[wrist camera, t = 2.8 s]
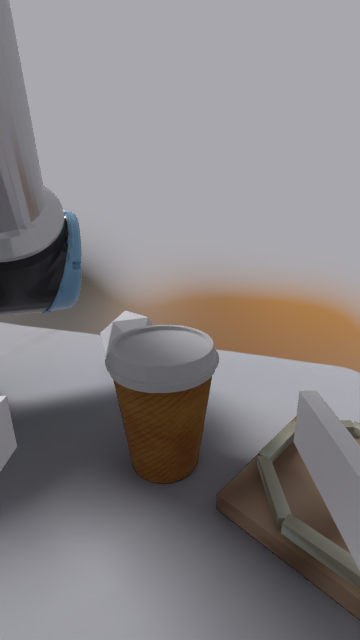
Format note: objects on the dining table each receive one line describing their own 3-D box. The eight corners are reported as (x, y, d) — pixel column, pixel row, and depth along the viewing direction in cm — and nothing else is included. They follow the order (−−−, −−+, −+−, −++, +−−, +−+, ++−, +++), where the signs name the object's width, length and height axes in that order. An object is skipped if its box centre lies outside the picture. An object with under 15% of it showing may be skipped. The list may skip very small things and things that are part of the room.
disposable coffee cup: (212, 426, 35) (215, 323, 31) (218, 501, 26) (224, 370, 22) (125, 424, 35) (118, 322, 31) (103, 498, 26) (88, 368, 22)
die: (172, 366, 50) (160, 308, 52) (148, 362, 42) (135, 295, 44) (126, 379, 52) (116, 323, 55) (95, 377, 44) (86, 312, 47)
